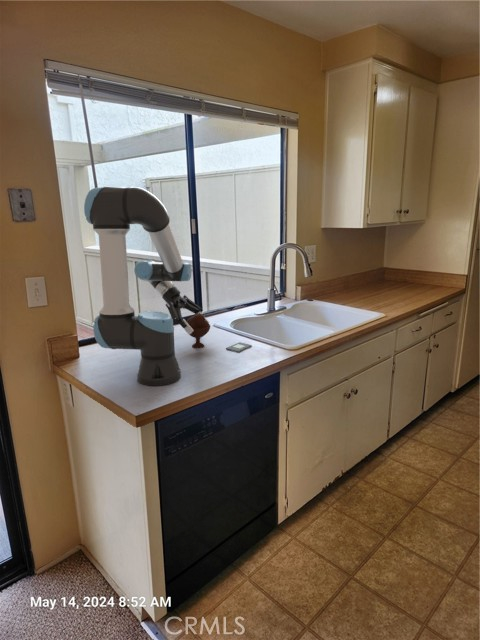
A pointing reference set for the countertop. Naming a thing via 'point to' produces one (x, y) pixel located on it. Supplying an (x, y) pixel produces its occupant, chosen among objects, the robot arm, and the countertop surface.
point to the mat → (238, 347)
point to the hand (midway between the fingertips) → (199, 328)
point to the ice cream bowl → (198, 328)
